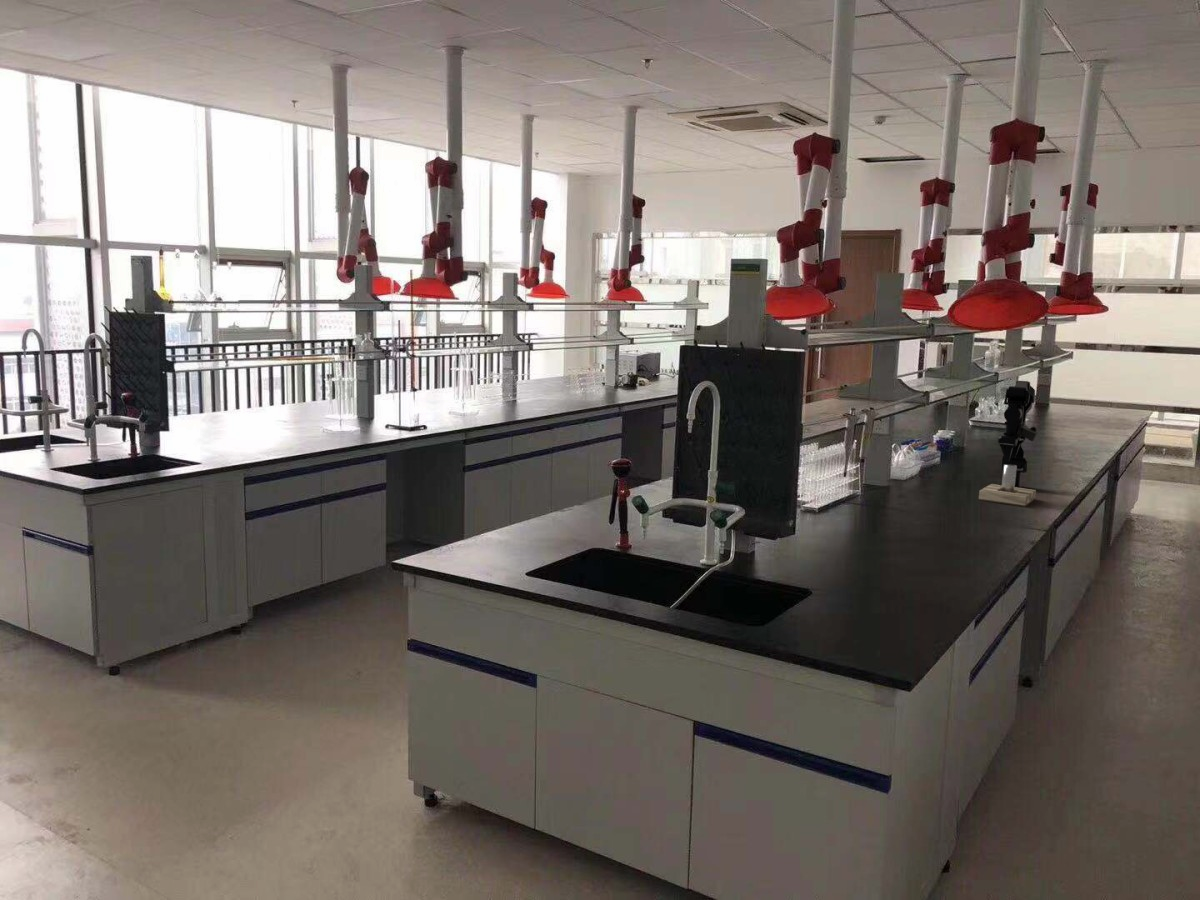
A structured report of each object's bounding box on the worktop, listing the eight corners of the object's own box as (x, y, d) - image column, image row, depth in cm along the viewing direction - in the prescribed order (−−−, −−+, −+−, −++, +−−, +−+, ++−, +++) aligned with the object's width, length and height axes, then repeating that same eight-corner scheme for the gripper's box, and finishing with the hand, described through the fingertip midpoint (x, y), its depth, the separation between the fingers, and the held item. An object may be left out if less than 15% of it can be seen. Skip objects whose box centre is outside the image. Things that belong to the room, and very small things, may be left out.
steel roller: (998, 496, 346) (1001, 464, 344) (1009, 496, 347) (1012, 464, 345) (1004, 499, 342) (1007, 466, 340) (1015, 499, 342) (1019, 466, 340)
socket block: (990, 492, 355) (991, 483, 355) (1034, 499, 346) (1035, 490, 345) (978, 499, 343) (979, 490, 342) (1024, 506, 333) (1025, 497, 333)
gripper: (1031, 424, 339) (1027, 466, 342) (1043, 419, 354) (1038, 459, 356) (999, 421, 346) (995, 462, 348) (1012, 416, 360) (1008, 455, 363)
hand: (1010, 459), depth 354 cm, fingers open, 9 cm apart
